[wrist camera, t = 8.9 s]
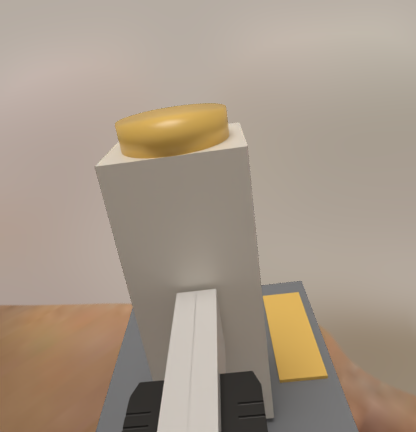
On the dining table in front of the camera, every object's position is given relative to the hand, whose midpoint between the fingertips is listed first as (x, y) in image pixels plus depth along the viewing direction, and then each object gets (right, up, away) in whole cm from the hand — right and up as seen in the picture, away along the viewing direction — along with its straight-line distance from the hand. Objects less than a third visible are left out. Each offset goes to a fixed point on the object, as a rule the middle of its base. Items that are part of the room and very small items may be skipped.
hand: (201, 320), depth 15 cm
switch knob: (+1, -5, +5) cm, 7 cm away
